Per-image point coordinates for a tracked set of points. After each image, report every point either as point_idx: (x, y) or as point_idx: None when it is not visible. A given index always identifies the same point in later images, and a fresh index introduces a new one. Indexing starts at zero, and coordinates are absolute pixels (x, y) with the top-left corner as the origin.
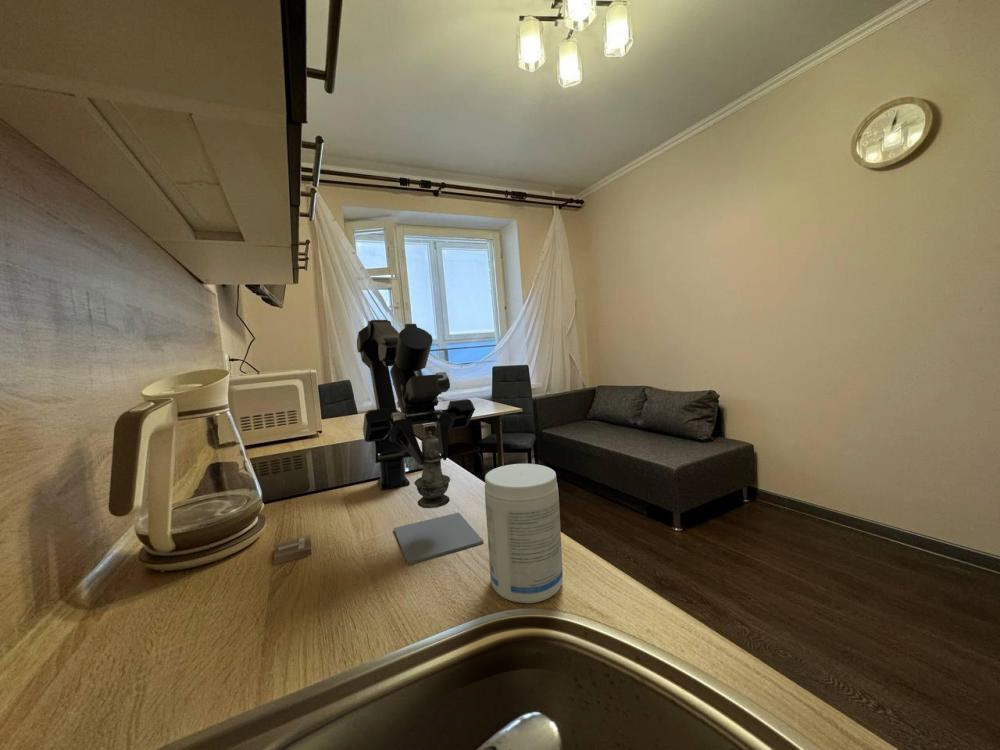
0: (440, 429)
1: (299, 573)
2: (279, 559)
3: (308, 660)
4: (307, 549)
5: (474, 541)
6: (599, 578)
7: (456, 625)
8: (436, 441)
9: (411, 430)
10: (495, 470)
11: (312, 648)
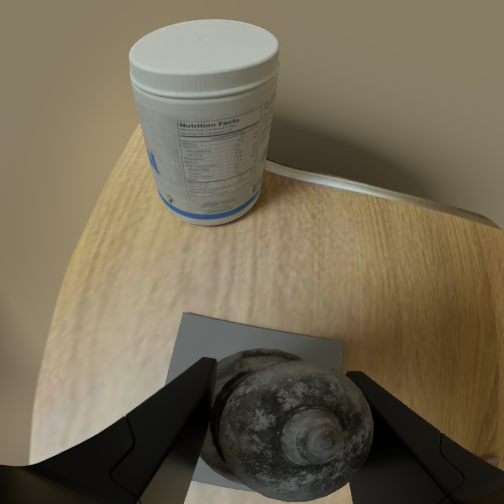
0: (141, 495)
1: (475, 414)
2: (492, 457)
3: (455, 239)
4: None
5: (199, 323)
6: (141, 149)
7: (325, 185)
8: (272, 364)
9: (478, 498)
10: (222, 63)
11: (454, 251)
